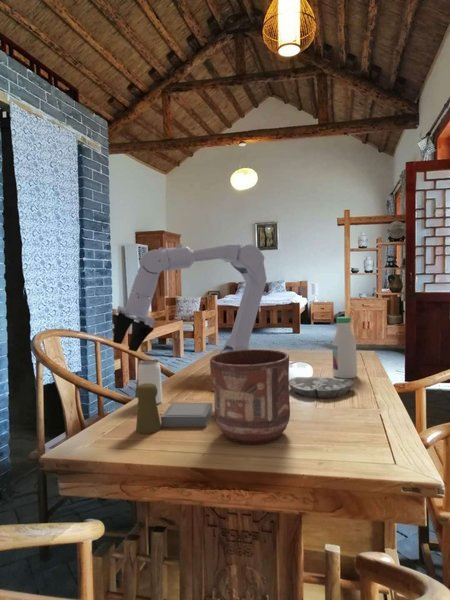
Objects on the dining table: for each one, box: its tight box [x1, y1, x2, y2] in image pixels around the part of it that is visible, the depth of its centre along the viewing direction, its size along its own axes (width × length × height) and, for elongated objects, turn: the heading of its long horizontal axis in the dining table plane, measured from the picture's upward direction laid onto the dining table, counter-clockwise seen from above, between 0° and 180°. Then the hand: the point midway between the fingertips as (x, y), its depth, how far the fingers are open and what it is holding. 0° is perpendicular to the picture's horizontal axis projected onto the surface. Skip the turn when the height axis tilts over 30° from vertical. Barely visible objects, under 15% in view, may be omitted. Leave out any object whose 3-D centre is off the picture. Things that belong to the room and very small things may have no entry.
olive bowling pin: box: [135, 383, 162, 435], centre depth 109 cm, size 6×6×11 cm
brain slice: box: [289, 376, 355, 399], centre depth 135 cm, size 20×17×3 cm
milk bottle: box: [332, 316, 358, 380], centre depth 152 cm, size 8×8×20 cm
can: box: [137, 359, 163, 405], centre depth 131 cm, size 6×6×12 cm
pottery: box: [209, 349, 291, 445], centre depth 102 cm, size 18×18×18 cm
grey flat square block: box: [160, 402, 214, 428], centre depth 115 cm, size 11×11×3 cm
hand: (124, 346), depth 115 cm, fingers open, 7 cm apart
